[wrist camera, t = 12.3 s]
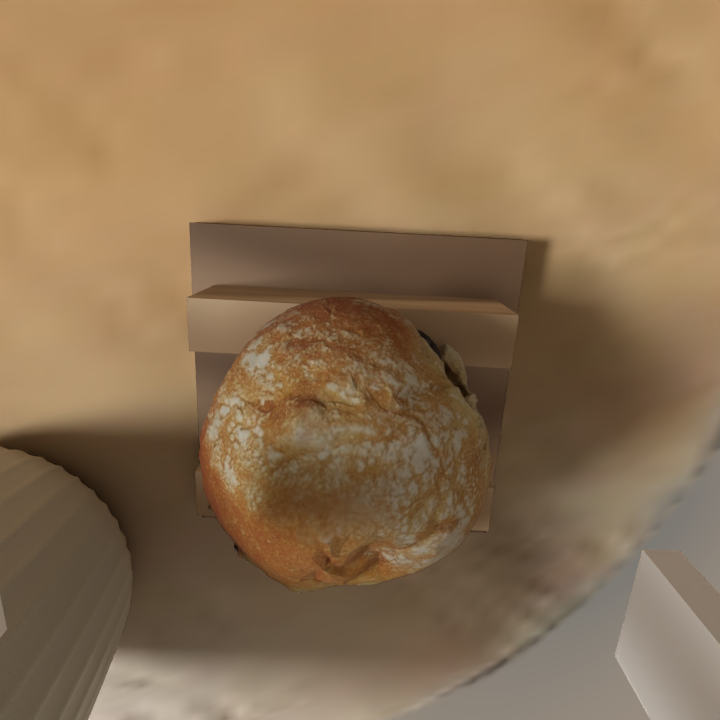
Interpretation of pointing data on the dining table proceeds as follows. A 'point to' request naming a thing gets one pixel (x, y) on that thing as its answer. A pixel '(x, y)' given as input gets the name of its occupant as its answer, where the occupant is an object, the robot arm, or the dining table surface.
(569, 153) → the dining table surface
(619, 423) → the dining table surface
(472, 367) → the display stand
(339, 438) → the bread roll
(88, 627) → the canister
